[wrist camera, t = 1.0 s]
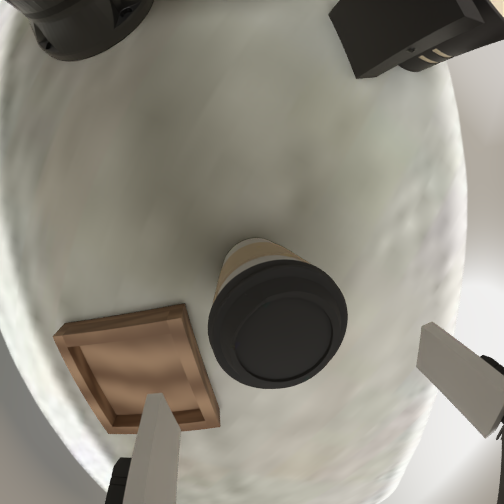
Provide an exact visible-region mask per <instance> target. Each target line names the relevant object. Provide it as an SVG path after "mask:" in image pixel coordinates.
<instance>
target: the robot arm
mask: <svg viewBox="0 0 504 504" xmlns="http://www.w3.org/2000/svg"><path fill="white" fill-rule="evenodd" d="M5 1H7V2H8V3H9V4H11V5H12V6H13V7H14V8H16V9H17V10H18V11H20V12H21V13H23V14H24V15H25V16H26V17H27V18H28V19H29V22H30V25H31V27H32V30H33V32H34V35H35V37H36V40H37V42H38V44H39V46H40V47H41V48H42V49H43V50H44V51H45V52H46V53H48V54H49V55H51V56H52V57H54V58H56V59H59V60H64V61H74V60H80V59H84V58H88V57H91V56H93V55H96V54H98V53H100V52H102V51H104V50H106V49H108V48H110V47H111V46H113V45H115V44H116V43H118V42H119V41H121V40H122V39H123V38H124V37H126V36H127V35H128V34H129V33H130V32H132V31H133V30H134V29H135V28H136V27H137V26H138V25H139V23H140V22H141V21H142V20H143V19H144V17H145V16H146V14H147V13H148V11H149V10H150V7H151V5H152V3H153V0H5ZM416 367H417V368H418V369H419V370H420V371H421V372H422V373H423V374H424V375H425V376H426V377H427V378H428V379H429V380H430V381H431V382H432V383H433V384H434V385H435V386H436V387H437V388H438V389H439V390H440V391H441V392H442V393H443V394H444V395H445V396H446V397H447V399H449V401H450V402H451V403H452V404H453V405H454V406H455V407H456V408H457V409H458V410H459V411H460V412H461V413H462V414H463V415H464V416H465V417H466V418H467V419H468V420H469V422H471V424H472V425H473V426H474V427H475V428H476V429H477V430H478V431H479V432H480V433H481V434H482V435H483V437H484V438H487V437H488V436H489V435H491V434H492V433H493V432H494V431H495V430H496V429H497V427H498V425H499V424H500V422H502V423H503V424H504V367H503V366H502V365H499V363H498V362H496V361H495V360H494V359H492V358H490V357H487V356H485V355H482V356H481V357H479V356H478V355H476V354H475V353H474V352H473V351H471V350H470V349H469V348H467V347H466V346H464V345H463V344H462V343H461V342H459V341H458V340H457V339H455V338H454V337H453V336H451V335H450V334H449V333H447V332H446V331H445V330H443V329H442V328H440V327H439V326H438V325H436V324H435V323H434V322H430V323H428V324H426V325H423V326H422V328H421V337H420V344H419V352H418V358H417V364H416ZM501 434H502V437H501V440H502V460H501V461H502V462H501V475H500V486H499V494H498V501H497V504H504V425H503V426H502V428H501V430H500V432H499V434H498V435H497V438H496V440H498V439H499V437H500V436H501ZM180 436H181V429H180V427H179V425H178V423H177V421H176V419H175V417H174V416H173V414H172V412H171V410H170V408H169V406H168V404H167V402H166V400H165V398H164V395H163V393H155V394H147V397H146V401H145V405H144V409H143V413H142V417H141V421H140V425H139V429H138V433H137V437H136V442H135V446H134V450H133V455H132V458H122V457H120V459H119V460H118V461H117V463H116V464H115V465H114V468H113V472H112V478H111V480H110V485H109V488H108V492H107V497H106V501H105V504H176V493H177V476H178V461H179V448H180Z"/></svg>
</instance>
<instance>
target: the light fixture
mask: <svg viewBox="0 0 504 504" xmlns="http://www.w3.org/2000/svg"><path fill="white" fill-rule="evenodd" d="M329 17H330V19H331V21H332V23H333V25H334V27H335V29H336V31H337V34H338V36H339V38H340V40H341V42H342V45H343V47H344V49H345V52H346V54H347V57H348V59H349V61H350V64H351V66H352V69H353V72H354V74H355V77H356V79H357V78H370V77H377V76H379V75H381V74H382V73H384V72H386V71H388V70H389V69H391V68H393V67H395V66H397V65H399V66H401V67H402V68H404V69H406V70H409V71H412V72H419V71H422V70H424V69H426V68H429V67H431V66H433V65H436V64H438V63H440V62H443V61H445V60H448V59H450V58H453V57H454V56H458V55H461V54H463V53H466V52H469V51H471V50H474V49H477V48H480V47H483V46H485V45H489V44H491V43H495V42H498V41H501V40H504V0H339V2H338V3H337V4H336V6H335V7H334V8H333V9H332V11H331V12H330V13H329Z"/></svg>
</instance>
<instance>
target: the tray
mask: <svg viewBox="0 0 504 504" xmlns="http://www.w3.org/2000/svg"><path fill="white" fill-rule="evenodd" d="M53 338H54V341H55V343H56V345H57V347H58V349H59V351H60V353H61V355H62V357H63V359H64V361H65V363H66V365H67V367H68V369H69V371H70V373H71V375H72V376H73V378H74V380H75V382H76V384H77V385H78V387H79V389H80V391H81V392H82V394H83V396H84V397H85V399H86V401H87V402H88V404H89V405H90V407H91V409H92V410H93V412H94V413H95V415H96V416H97V418H98V419H99V421H100V422H101V424H102V425H103V427H104V428H105V430H106V431H107V432H108V434H137V433H138V429H139V425H140V421H141V417H142V413H143V409H144V405H145V401H146V397H147V394H155V393H163V395H164V398H165V400H166V402H167V404H168V406H169V408H170V410H171V412H172V414H173V416H174V417H175V419H176V421H177V423H178V425H179V427H180V429H181V431H191V430H200V429H208V428H215V427H220V409H219V406H218V403H217V401H216V398H215V395H214V392H213V390H212V387H211V384H210V381H209V378H208V375H207V373H206V370H205V367H204V364H203V361H202V358H201V355H200V352H199V349H198V346H197V342H196V339H195V336H194V333H193V330H192V326H191V323H190V320H189V317H188V313H187V310H186V306H185V303H184V304H179V305H173V306H168V307H162V308H157V309H151V310H145V311H140V312H134V313H128V314H122V315H116V316H110V317H103V318H97V319H91V320H84V321H77V322H71V323H65V324H64V325H63V326H62V327H61V328H60V329H59V330H58V331H57V332H56V334H55V335H54V336H53Z"/></svg>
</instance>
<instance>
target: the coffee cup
mask: <svg viewBox="0 0 504 504" xmlns="http://www.w3.org/2000/svg"><path fill="white" fill-rule="evenodd" d="M347 320H348V314H347V306H346V302H345V299H344V296H343V294H342V292H341V291H340V289H339V288H338V286H337V285H336V283H335V282H334V281H333V280H332V279H331V277H330V276H329V275H327V274H326V273H325V272H324V271H322V270H321V269H319V268H317V267H316V266H314V265H311V264H310V263H308V262H307V261H305V260H304V259H302V258H300V257H299V256H297V255H296V254H294V253H292V252H291V251H289V250H287V249H286V248H284V247H282V246H280V245H278V244H275V243H273V242H271V241H269V240H266V239H262V238H251V239H247V240H244V241H242V242H240V243H238V244H237V245H235V246H234V247H233V248H232V249H231V250H230V251H229V252H228V254H227V256H226V257H225V260H224V262H223V267H222V270H221V272H220V276H219V280H218V284H217V288H216V292H215V296H214V300H213V305H212V308H211V311H210V314H209V320H208V336H209V341H210V344H211V347H212V349H213V352H214V355H215V357H216V359H217V361H218V363H219V365H220V366H221V367H222V369H223V370H224V371H225V372H226V373H227V374H228V375H229V376H231V377H232V378H233V379H235V380H236V381H238V382H240V383H242V384H245V385H248V386H251V387H255V388H262V389H278V388H287V387H291V386H295V385H298V384H300V383H302V382H305V381H307V380H308V379H310V378H312V377H313V376H315V375H316V374H317V373H319V372H320V371H321V370H322V369H323V368H324V367H325V366H326V365H327V363H328V362H329V361H330V360H331V359H332V357H333V356H334V355H335V353H336V352H337V350H338V349H339V347H340V345H341V343H342V341H343V338H344V335H345V332H346V328H347Z"/></svg>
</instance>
